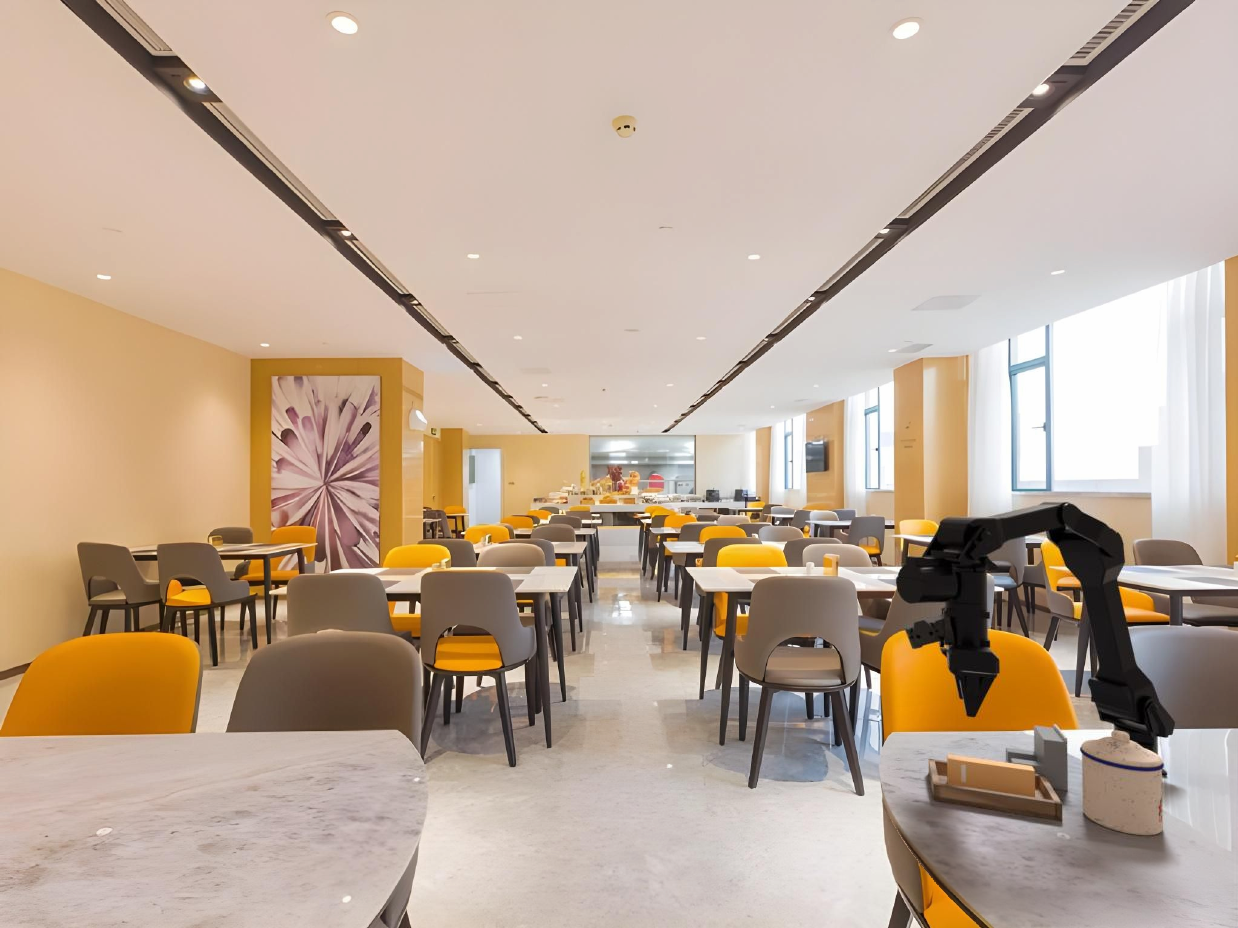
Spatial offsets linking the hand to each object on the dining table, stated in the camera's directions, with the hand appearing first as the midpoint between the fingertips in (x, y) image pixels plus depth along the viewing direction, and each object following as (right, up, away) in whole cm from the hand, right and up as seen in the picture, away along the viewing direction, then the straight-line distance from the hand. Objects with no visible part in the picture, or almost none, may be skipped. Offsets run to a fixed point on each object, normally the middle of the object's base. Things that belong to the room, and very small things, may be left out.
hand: (966, 707), depth 101 cm
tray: (+2, -12, -3) cm, 12 cm away
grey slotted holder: (+13, -12, +4) cm, 18 cm away
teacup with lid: (+16, -12, -9) cm, 22 cm away
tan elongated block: (+2, -11, -3) cm, 11 cm away
